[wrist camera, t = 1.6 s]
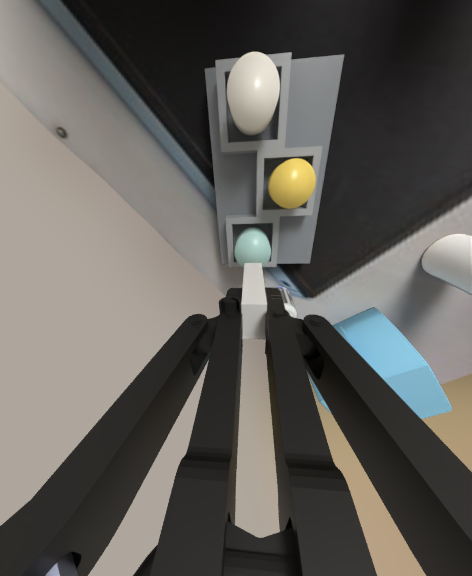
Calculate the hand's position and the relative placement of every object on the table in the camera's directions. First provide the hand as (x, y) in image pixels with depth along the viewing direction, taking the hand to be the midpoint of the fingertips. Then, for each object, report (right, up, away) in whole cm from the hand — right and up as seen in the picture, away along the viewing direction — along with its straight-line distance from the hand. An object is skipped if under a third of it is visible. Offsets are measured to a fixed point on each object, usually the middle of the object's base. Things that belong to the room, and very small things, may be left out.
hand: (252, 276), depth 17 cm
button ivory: (0, +17, +2) cm, 17 cm away
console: (+3, +14, +10) cm, 17 cm away
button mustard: (+4, +11, +5) cm, 13 cm away
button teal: (+1, +5, +9) cm, 10 cm away
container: (+24, -14, +24) cm, 37 cm away
